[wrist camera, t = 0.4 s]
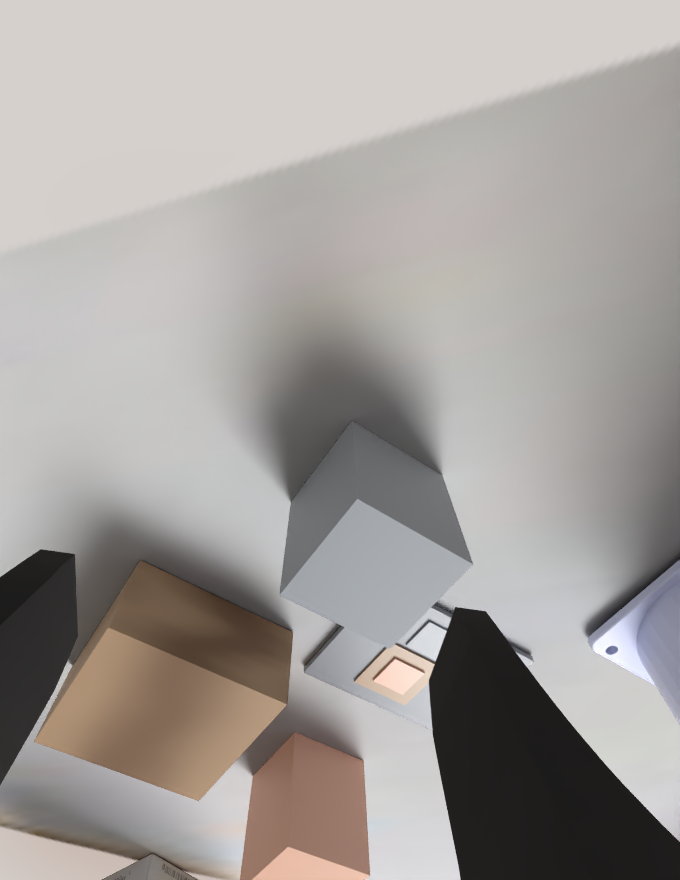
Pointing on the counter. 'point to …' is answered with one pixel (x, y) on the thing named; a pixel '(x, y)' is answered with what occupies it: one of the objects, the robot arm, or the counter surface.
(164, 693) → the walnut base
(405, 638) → the tile
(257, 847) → the terracotta block
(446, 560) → the grey block
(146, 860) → the coffee box
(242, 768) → the counter surface
